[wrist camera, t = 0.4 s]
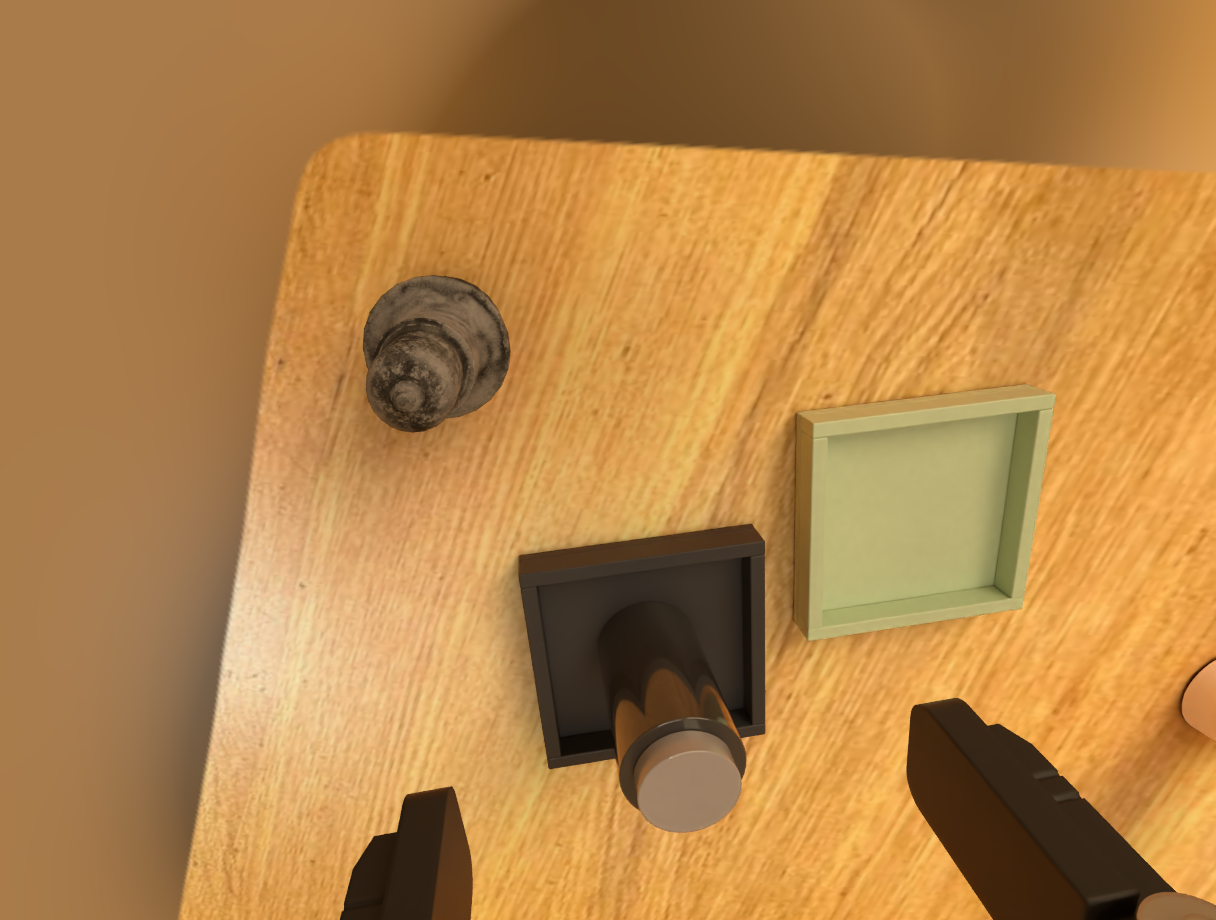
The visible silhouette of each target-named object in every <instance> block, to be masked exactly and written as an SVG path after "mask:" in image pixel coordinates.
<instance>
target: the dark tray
mask: <svg viewBox="0 0 1216 920" xmlns="http://www.w3.org/2000/svg"><path fill="white" fill-rule="evenodd" d="M764 554H765V541H764V540H763V538H762V537H761V536H760V534H759V533H758V532H757V530H756V529H755V528H754V527H753V525H752V524H748V525H740V526H733V527H725V528H718V529H711V530H703V531H696V532H689V533H681V534H674V535H667V536H659V537H652V538H645V539H637V540H630V541H622V542H615V543H608V544H600V545H593V546H586V547H578V548H571V549H564V550H556V551H549V552H542V553H534V554H527V555H520V556H519V582H520V587H521V594H522V601H523V607H524V614H525V620H526V626H527V633H528V639H529V646H530V652H531V658H532V665H533V671H534V678H535V684H536V690H537V697H538V703H539V710H540V716H541V723H542V729H543V735H544V742H545V748H546V755H547V761H548V767H549V769H554V768H560V767H567V766H573V765H579V764H585V763H591V762H597V761H603V760H609V759H615V753H614V747H613V742H612V736H611V730H610V724H609V718H608V712H607V706H606V701H605V695H604V689H603V683H602V677H601V671H600V665H599V659H598V654H597V644H598V639H599V636H600V633H601V631H602V629H603V628H604V626H605V624H606V623H607V622H608V621H609V619H610V618H612V617H613V616H614V615H615V614H616V613H617V612H619V611H620V610H622V609H624V608H626V607H628V606H630V605H633V604H636V603H641V602H649V601H654V602H663V603H667V604H670V605H672V606H674V607H676V608H678V609H680V610H681V611H682V612H684V613H685V614H686V615H687V616H688V617H689V619H690V620H691V622H692V624H693V626H694V628H695V631H696V633H697V635H698V638H699V640H700V642H701V645H702V647H703V650H704V652H705V654H706V657H707V659H708V661H709V664H710V666H711V669H712V671H713V673H714V676H715V678H716V680H717V683H718V685H719V688H720V690H721V692H722V695H723V697H724V700H725V702H726V704H727V707H728V709H729V711H730V714H731V716H732V719H733V721H734V723H735V726H736V728H737V730H738V733H739V735H740V738H744V737H750V736H756V735H762V734H765V555H764Z"/></svg>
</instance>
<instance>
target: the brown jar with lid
mask: <svg viewBox="0 0 1216 920" xmlns="http://www.w3.org/2000/svg"><path fill="white" fill-rule="evenodd" d="M597 654H598V659H599V665H600V671H601V677H602V683H603V689H604V695H605V701H606V706H607V712H608V718H609V724H610V730H611V736H612V742H613V747H614V753H615V759H616V765H617V771H618V777H619V782H620V787H621V789H622V792H623V794H624V795H625V797H626V799H627V800H628V801H629V802H630V803H631V804H632V805H633V806H634V807H635V808H637V809H638V810H640V811H641V813H642V815H643V816H644V817H645V819H646V820H647V821H648V822H650V823H651V824H652V825H654V826H655V827H657V828H659V829H662V830H665V831H669V832H677V833H686V832H693V831H698V830H701V829H704V828H707V827H709V826H711V825H713V824H715V823H717V822H718V821H720V820H721V819H723V818H724V817H725V816H726V815H727V814H728V813H729V812H730V811H731V810H732V809H733V807H734V806H735V805H736V803H737V801H738V799H739V796H740V793H741V785H742V782H741V780H742V778H743V775H744V772H745V768H746V751H745V748H744V745H743V742H742V740H741V738H740V735H739V733H738V730H737V728H736V726H735V723H734V721H733V719H732V716H731V714H730V711H729V709H728V707H727V704H726V702H725V700H724V697H723V695H722V692H721V690H720V688H719V685H718V683H717V680H716V678H715V676H714V673H713V671H712V669H711V666H710V664H709V661H708V659H707V657H706V654H705V652H704V650H703V647H702V645H701V642H700V640H699V638H698V635H697V633H696V631H695V628H694V626H693V624H692V622H691V620H690V619H689V617H688V616H687V615H686V614H685V613H684V612H682V611H681V610H680V609H678V608H676V607H674V606H672V605H670V604H667V603H663V602H654V601H649V602H641V603H636V604H633V605H630V606H628V607H626V608H624V609H622V610H620V611H619V612H617V613H616V614H615V615H614V616H613V617H612V618H610V619H609V621H608V622H607V623H606V624H605V626H604V628H603V629H602V631H601V633H600V636H599V639H598V644H597Z"/></svg>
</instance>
